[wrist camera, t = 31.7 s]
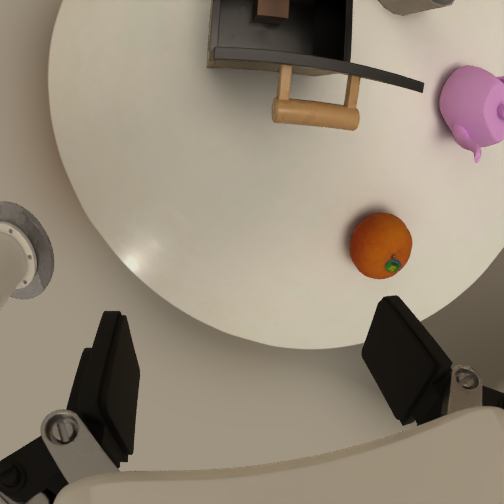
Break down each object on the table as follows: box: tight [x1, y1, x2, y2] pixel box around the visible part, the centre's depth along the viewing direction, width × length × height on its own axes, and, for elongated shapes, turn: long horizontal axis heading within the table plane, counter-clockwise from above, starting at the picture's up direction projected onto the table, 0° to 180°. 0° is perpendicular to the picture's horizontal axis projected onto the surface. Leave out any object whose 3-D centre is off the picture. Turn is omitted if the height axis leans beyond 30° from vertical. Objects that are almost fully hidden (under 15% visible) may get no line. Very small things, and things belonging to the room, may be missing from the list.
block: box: [252, 0, 289, 25], centre depth 30 cm, size 4×4×4 cm
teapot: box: [439, 65, 504, 163], centre depth 37 cm, size 20×13×12 cm, turn 143°
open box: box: [207, 0, 353, 76], centre depth 29 cm, size 12×15×11 cm
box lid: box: [209, 47, 424, 131], centre depth 23 cm, size 12×15×5 cm
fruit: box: [350, 213, 412, 279], centre depth 47 cm, size 11×10×8 cm
